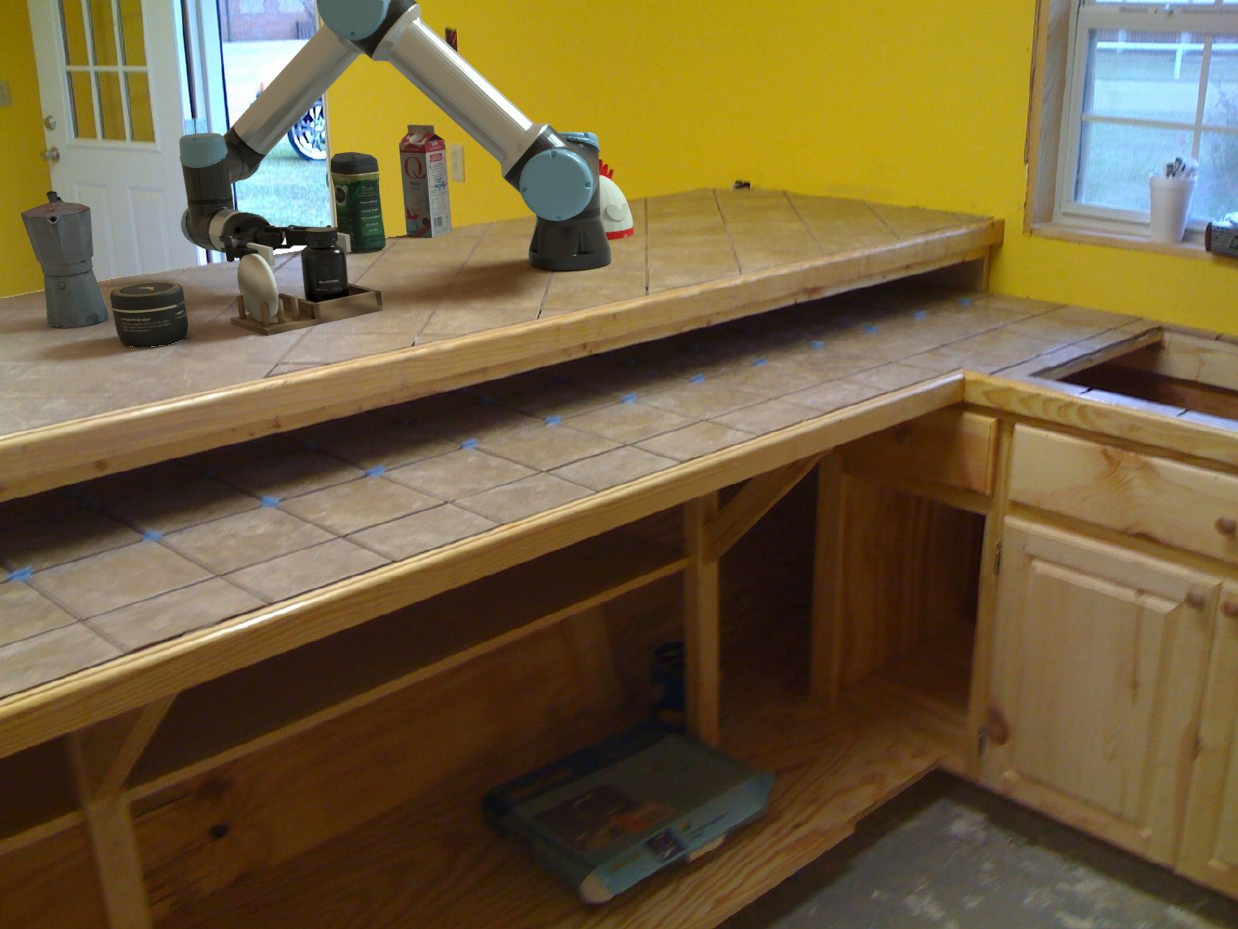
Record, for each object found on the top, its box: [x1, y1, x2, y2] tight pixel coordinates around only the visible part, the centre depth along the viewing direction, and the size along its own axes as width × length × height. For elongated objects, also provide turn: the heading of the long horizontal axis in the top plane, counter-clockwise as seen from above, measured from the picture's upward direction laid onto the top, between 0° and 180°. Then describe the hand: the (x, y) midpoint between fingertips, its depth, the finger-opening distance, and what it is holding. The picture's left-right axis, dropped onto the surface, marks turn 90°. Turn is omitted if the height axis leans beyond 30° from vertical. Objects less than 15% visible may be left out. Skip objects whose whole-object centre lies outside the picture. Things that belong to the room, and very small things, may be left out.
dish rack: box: [230, 254, 384, 336], centre depth 182 cm, size 20×11×11 cm, turn 135°
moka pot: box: [20, 190, 109, 328], centre depth 181 cm, size 10×15×20 cm, turn 23°
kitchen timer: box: [599, 158, 634, 241], centre depth 241 cm, size 14×14×15 cm
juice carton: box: [398, 124, 453, 239], centre depth 244 cm, size 7×7×22 cm
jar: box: [109, 281, 189, 348], centre depth 171 cm, size 10×10×8 cm
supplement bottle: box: [300, 226, 349, 303], centre depth 184 cm, size 7×7×12 cm
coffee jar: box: [330, 151, 387, 253], centre depth 231 cm, size 10×8×19 cm
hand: (311, 250), depth 185 cm, fingers open, 13 cm apart
